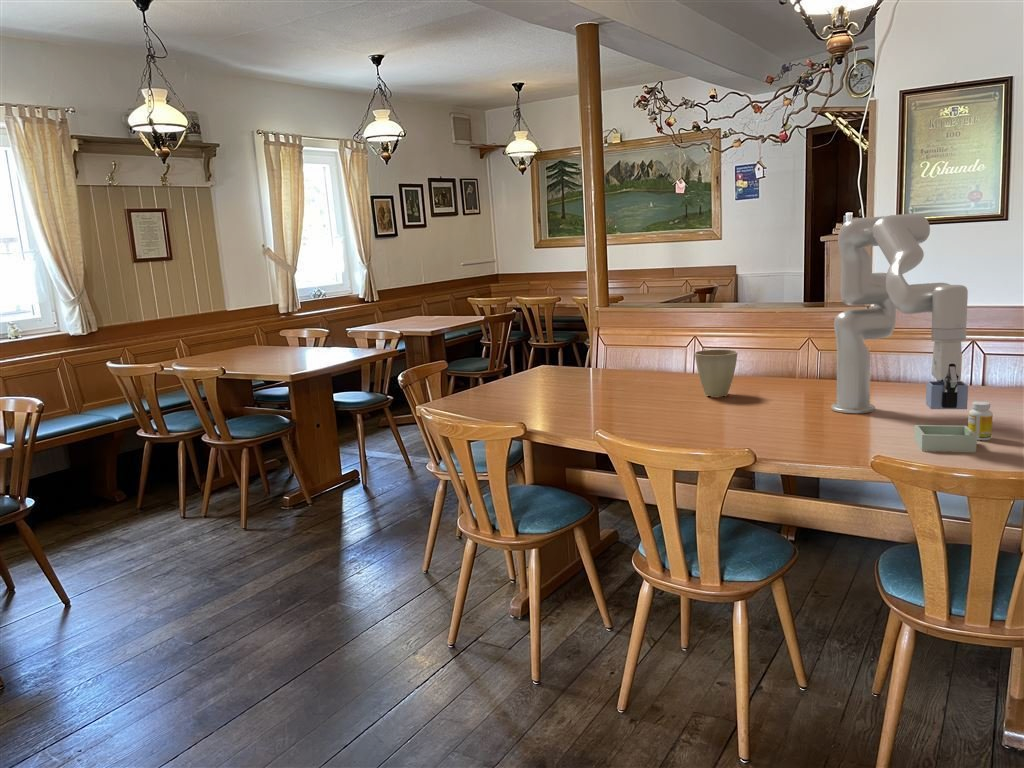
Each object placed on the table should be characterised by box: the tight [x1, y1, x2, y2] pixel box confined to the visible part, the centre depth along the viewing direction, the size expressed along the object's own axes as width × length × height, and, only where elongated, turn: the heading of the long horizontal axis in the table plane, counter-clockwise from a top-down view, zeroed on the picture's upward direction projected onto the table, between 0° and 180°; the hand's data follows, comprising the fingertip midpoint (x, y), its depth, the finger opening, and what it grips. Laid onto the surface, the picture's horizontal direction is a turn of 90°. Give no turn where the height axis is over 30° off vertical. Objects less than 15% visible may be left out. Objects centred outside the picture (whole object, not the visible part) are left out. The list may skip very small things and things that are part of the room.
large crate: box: [913, 424, 978, 453], centre depth 190 cm, size 10×12×4 cm
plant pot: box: [694, 349, 738, 397], centre depth 267 cm, size 15×15×16 cm
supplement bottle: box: [967, 400, 994, 441], centre depth 194 cm, size 5×5×10 cm
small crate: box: [925, 380, 969, 410], centre depth 188 cm, size 6×8×6 cm
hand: (946, 404), depth 188 cm, fingers closed on small crate, 6 cm apart
